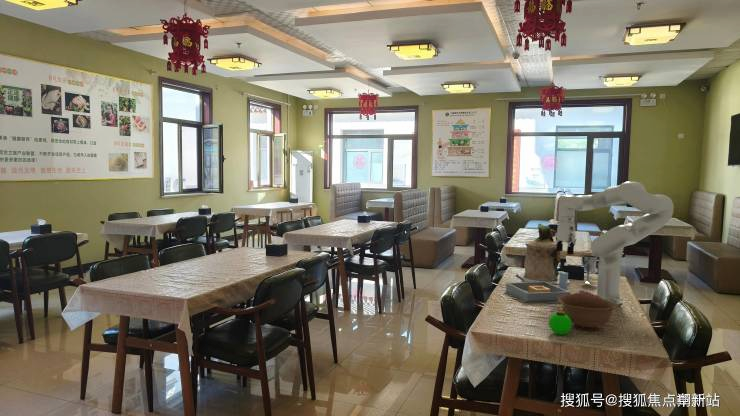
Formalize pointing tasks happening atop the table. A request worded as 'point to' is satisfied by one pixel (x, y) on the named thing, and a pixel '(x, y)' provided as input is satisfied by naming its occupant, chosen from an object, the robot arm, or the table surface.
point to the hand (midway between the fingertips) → (564, 252)
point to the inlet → (538, 289)
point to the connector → (563, 280)
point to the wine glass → (588, 265)
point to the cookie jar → (542, 258)
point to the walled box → (522, 293)
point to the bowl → (587, 310)
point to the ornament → (560, 323)
